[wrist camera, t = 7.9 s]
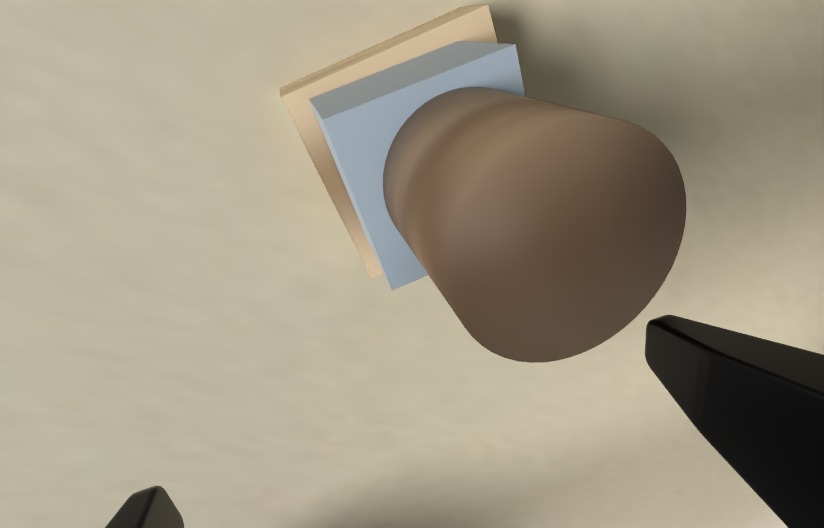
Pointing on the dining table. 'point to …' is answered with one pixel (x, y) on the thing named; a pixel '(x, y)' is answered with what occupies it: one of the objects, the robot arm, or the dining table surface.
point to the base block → (401, 48)
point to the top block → (381, 120)
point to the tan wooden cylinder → (535, 217)
